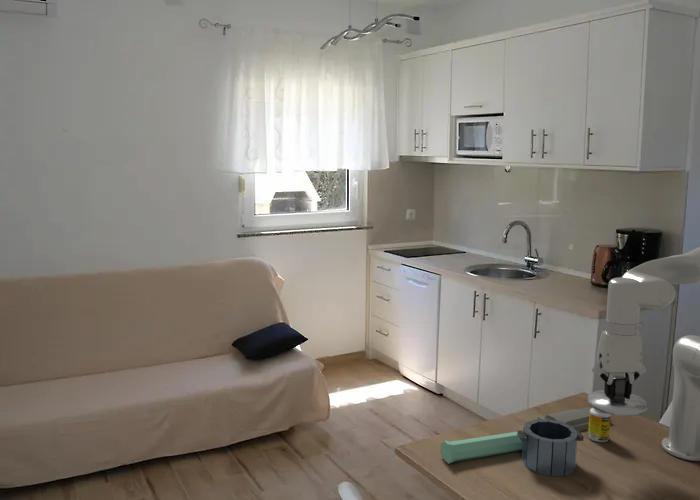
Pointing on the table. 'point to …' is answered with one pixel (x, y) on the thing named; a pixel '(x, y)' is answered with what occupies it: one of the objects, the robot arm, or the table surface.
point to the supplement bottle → (599, 426)
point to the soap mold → (572, 418)
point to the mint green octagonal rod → (480, 447)
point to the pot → (549, 447)
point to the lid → (618, 400)
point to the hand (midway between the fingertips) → (617, 396)
